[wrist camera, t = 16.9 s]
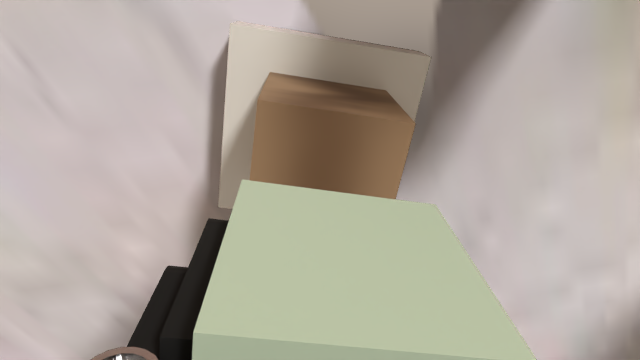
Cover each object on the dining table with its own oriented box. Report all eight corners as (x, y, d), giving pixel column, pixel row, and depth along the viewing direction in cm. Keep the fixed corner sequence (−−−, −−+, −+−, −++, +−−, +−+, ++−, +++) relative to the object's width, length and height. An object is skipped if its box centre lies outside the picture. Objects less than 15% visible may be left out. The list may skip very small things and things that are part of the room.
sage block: (435, 204, 10) (539, 363, 6) (390, 346, 12) (442, 546, 8) (242, 179, 10) (193, 332, 5) (227, 331, 12) (183, 537, 7)
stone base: (418, 51, 22) (431, 57, 20) (379, 208, 26) (386, 227, 24) (237, 20, 21) (230, 23, 19) (225, 188, 25) (218, 207, 23)
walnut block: (386, 90, 21) (415, 123, 15) (362, 193, 23) (380, 254, 18) (269, 71, 20) (257, 99, 15) (258, 179, 23) (243, 238, 17)
